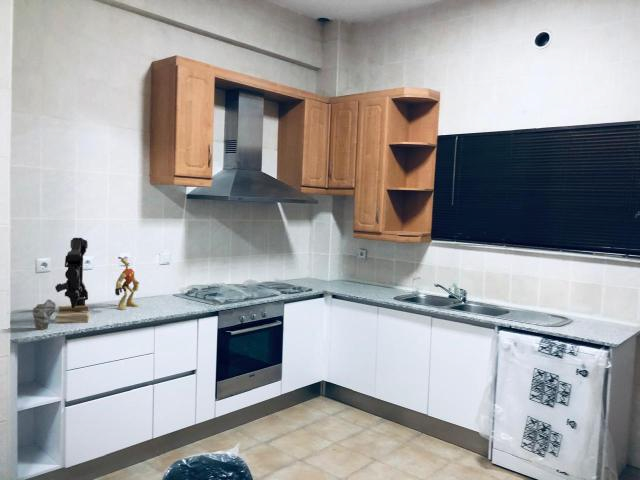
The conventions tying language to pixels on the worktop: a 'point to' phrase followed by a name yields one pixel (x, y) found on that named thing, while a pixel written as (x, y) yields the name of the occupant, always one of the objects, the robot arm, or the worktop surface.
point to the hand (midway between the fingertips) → (73, 307)
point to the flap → (76, 308)
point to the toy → (126, 286)
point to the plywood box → (72, 317)
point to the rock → (43, 314)
